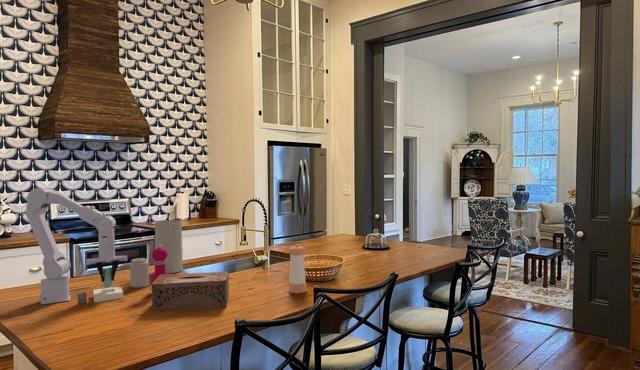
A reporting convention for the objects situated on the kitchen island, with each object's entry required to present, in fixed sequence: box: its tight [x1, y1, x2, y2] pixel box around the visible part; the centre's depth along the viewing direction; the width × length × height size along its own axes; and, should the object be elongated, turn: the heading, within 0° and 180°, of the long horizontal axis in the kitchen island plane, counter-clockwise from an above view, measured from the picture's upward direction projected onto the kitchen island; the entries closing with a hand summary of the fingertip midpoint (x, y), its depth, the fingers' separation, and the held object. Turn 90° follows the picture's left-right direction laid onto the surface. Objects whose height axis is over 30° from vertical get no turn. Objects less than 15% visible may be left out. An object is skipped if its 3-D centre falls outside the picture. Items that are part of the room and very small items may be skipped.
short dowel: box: [76, 292, 88, 306], centre depth 160 cm, size 3×3×4 cm
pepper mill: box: [150, 244, 168, 287], centre depth 174 cm, size 7×7×20 cm
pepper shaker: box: [287, 243, 307, 294], centre depth 175 cm, size 7×7×19 cm
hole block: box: [92, 286, 124, 303], centre depth 169 cm, size 10×10×2 cm
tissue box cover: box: [151, 271, 230, 312], centre depth 160 cm, size 26×14×10 cm, turn 99°
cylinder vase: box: [154, 219, 184, 274], centre depth 213 cm, size 12×12×25 cm
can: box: [129, 257, 150, 289], centre depth 185 cm, size 8×8×12 cm
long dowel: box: [103, 267, 113, 289], centre depth 169 cm, size 3×3×7 cm
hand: (107, 280), depth 169 cm, fingers closed on long dowel, 3 cm apart
